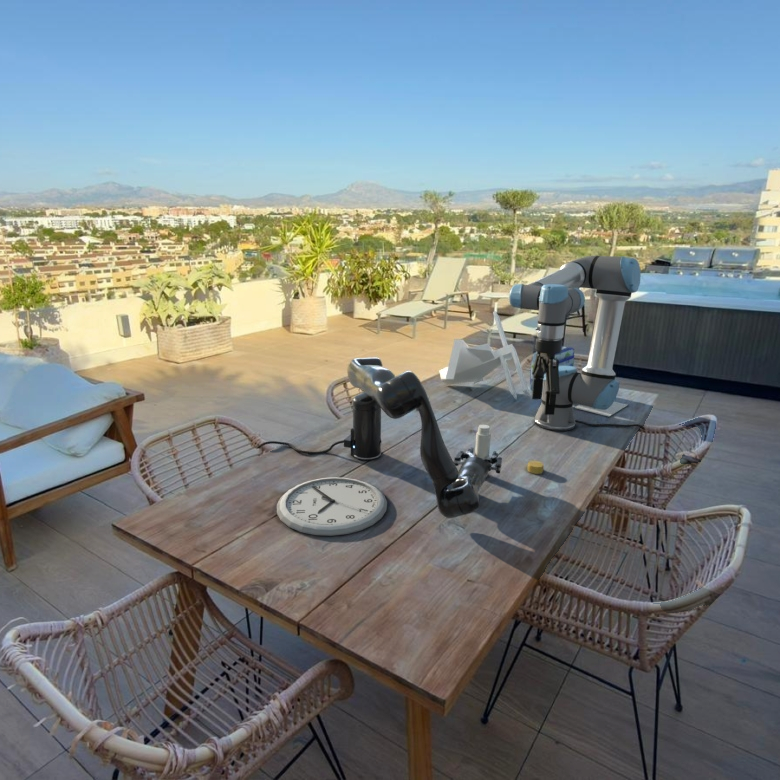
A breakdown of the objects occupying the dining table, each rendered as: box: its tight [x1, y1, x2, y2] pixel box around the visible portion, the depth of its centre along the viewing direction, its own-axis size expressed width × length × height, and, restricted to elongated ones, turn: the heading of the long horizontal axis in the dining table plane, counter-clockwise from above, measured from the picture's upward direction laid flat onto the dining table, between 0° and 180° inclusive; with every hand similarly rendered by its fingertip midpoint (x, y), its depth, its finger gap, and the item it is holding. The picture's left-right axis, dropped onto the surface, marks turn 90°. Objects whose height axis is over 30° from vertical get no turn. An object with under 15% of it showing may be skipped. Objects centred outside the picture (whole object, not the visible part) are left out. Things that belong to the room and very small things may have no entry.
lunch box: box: [529, 345, 575, 392], centre depth 245 cm, size 26×11×21 cm, turn 134°
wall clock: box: [276, 476, 388, 537], centre depth 142 cm, size 30×2×30 cm
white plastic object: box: [438, 310, 531, 400], centre depth 245 cm, size 37×45×31 cm
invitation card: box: [573, 401, 629, 418], centre depth 226 cm, size 21×1×15 cm
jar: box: [474, 424, 492, 478], centre depth 160 cm, size 4×4×16 cm
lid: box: [526, 460, 544, 475], centre depth 165 cm, size 5×5×2 cm
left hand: (483, 452), depth 162 cm, fingers open, 6 cm apart
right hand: (542, 406), depth 160 cm, fingers open, 13 cm apart
